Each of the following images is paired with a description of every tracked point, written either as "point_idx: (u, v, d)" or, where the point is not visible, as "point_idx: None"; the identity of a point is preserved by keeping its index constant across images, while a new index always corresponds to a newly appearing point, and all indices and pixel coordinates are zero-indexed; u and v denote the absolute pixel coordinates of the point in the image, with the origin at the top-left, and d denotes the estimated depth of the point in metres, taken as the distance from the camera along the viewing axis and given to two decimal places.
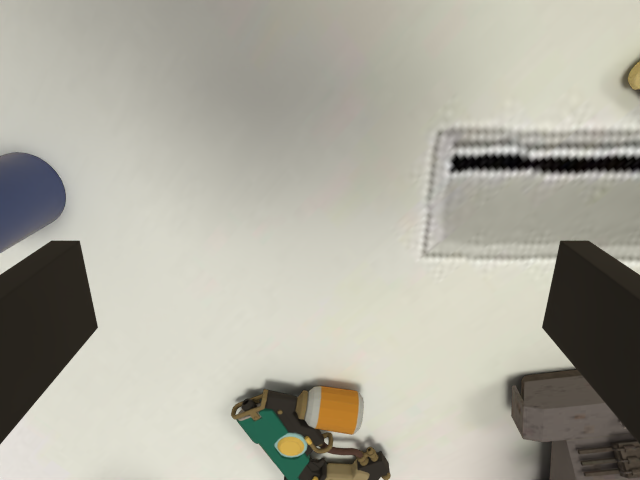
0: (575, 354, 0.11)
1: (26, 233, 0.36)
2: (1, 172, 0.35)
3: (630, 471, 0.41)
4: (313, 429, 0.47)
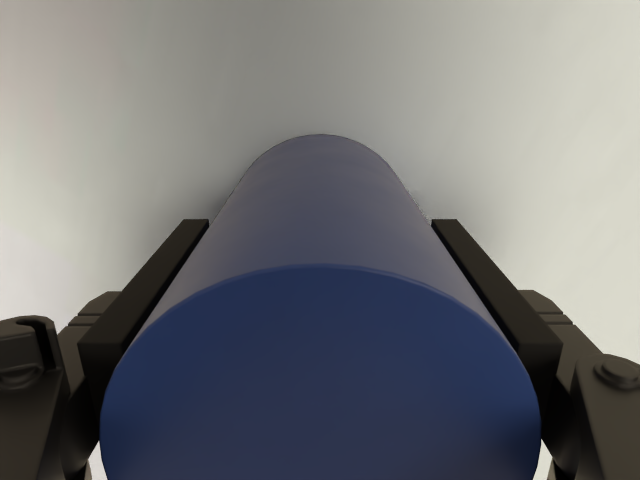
0: None
1: None
2: (365, 173, 0.11)
3: None
4: None
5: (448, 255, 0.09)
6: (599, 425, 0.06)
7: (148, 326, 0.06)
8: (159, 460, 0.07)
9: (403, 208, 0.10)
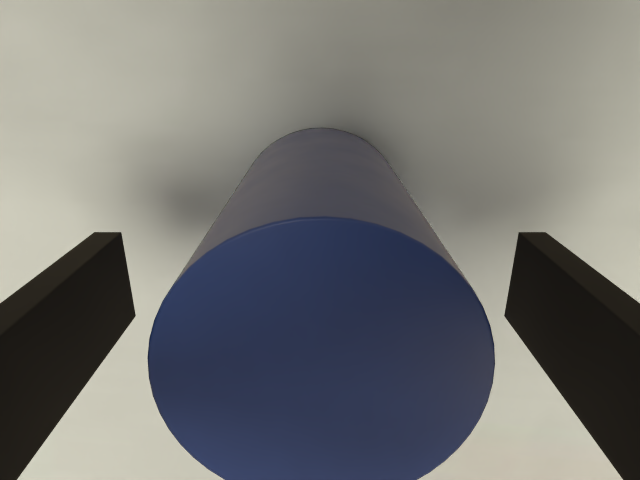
0: (531, 339, 0.12)
1: None
2: (359, 159, 0.13)
3: None
4: None
5: (426, 222, 0.11)
6: None
7: (189, 266, 0.08)
8: (194, 377, 0.09)
9: (390, 186, 0.11)
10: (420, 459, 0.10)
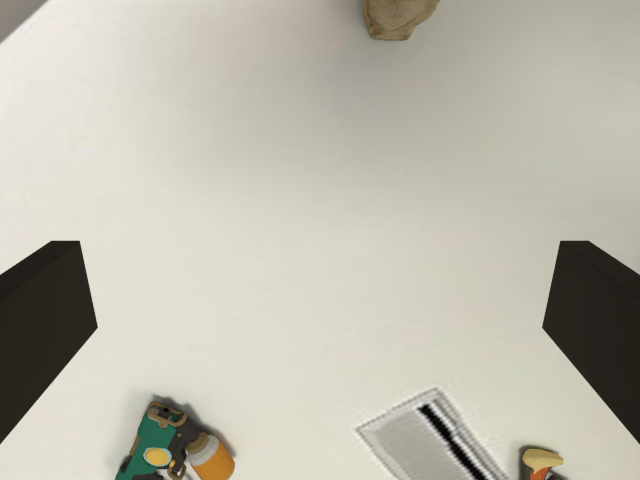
0: (575, 354, 0.11)
1: None
2: None
3: None
4: (184, 460, 0.56)
5: None
6: None
7: None
8: None
9: None
10: None
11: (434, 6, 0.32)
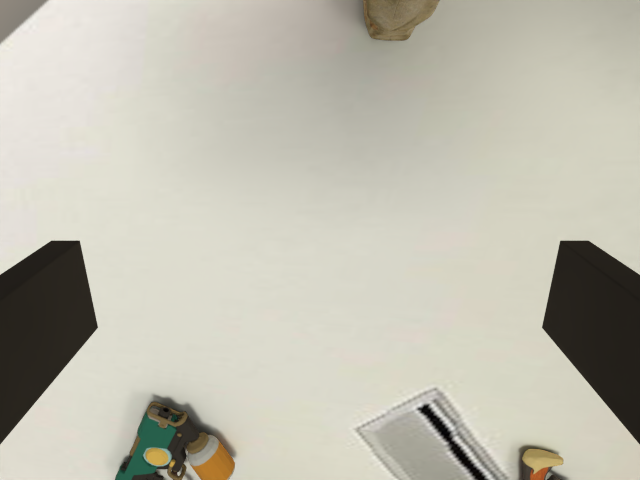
0: (575, 354, 0.11)
1: None
2: None
3: None
4: (184, 460, 0.56)
5: None
6: None
7: None
8: None
9: None
10: None
11: (434, 6, 0.32)
